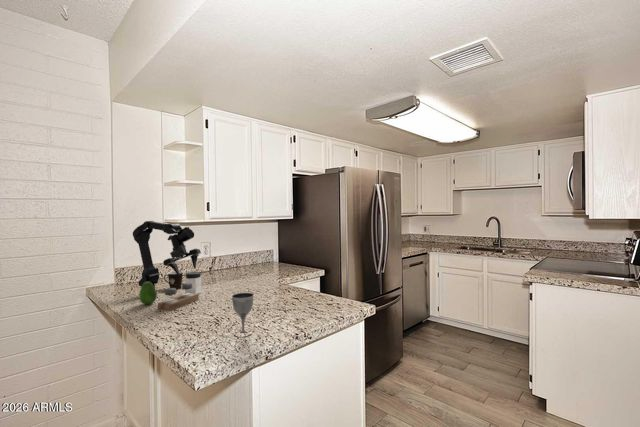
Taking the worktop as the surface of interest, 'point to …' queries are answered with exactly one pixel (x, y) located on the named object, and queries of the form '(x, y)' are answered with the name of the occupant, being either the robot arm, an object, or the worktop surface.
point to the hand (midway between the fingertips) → (186, 271)
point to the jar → (193, 282)
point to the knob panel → (177, 301)
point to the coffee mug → (175, 280)
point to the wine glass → (242, 305)
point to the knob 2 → (187, 286)
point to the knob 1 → (170, 291)
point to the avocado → (148, 293)
